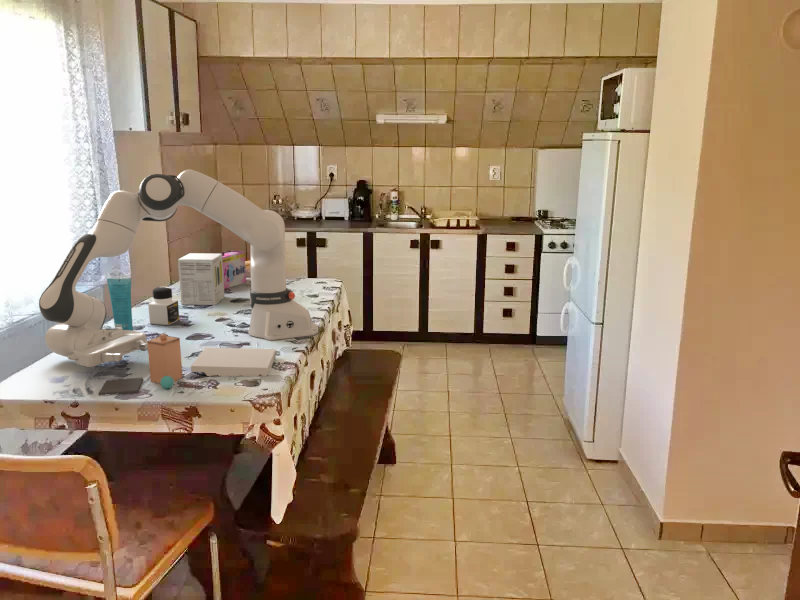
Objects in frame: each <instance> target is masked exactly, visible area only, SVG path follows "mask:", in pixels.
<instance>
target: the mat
mask: <svg viewBox="0 0 800 600" xmlns="http://www.w3.org/2000/svg"><path fill="white" fill-rule="evenodd" d="M143 382H144V377H135V378H134V377H133V378H132V377H131V378H118V379H117V378H116V379H106V380H105V381H104V383H103V384H102V387H101V389H100V390H99V392H98V396H106V395H105V394H110V395H117V394H116V393H124V394H137V393H138V392H139V391H140V388H141V387H142V383H143Z"/></svg>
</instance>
